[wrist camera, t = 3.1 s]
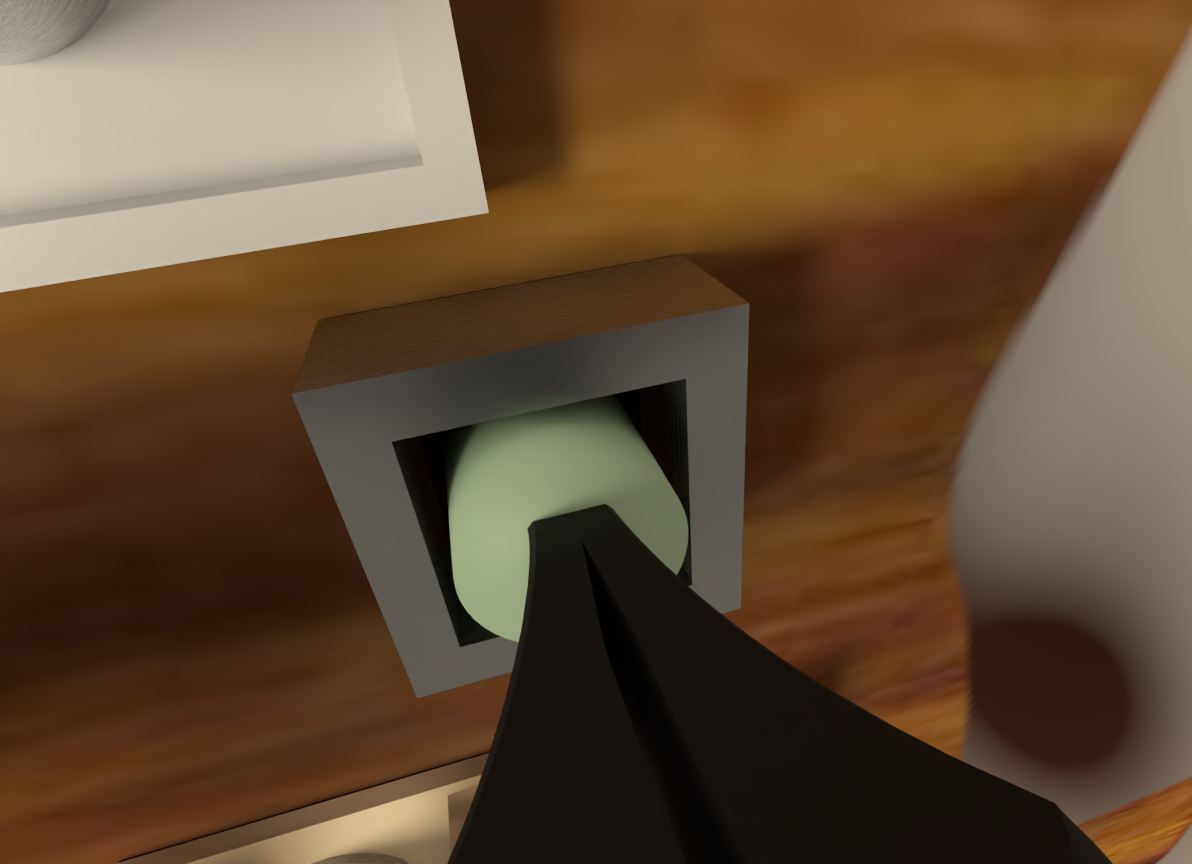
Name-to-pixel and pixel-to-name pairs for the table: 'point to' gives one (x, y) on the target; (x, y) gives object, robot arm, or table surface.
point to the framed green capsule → (515, 386)
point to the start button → (547, 496)
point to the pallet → (350, 825)
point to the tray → (230, 134)
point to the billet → (43, 26)
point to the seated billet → (363, 859)
